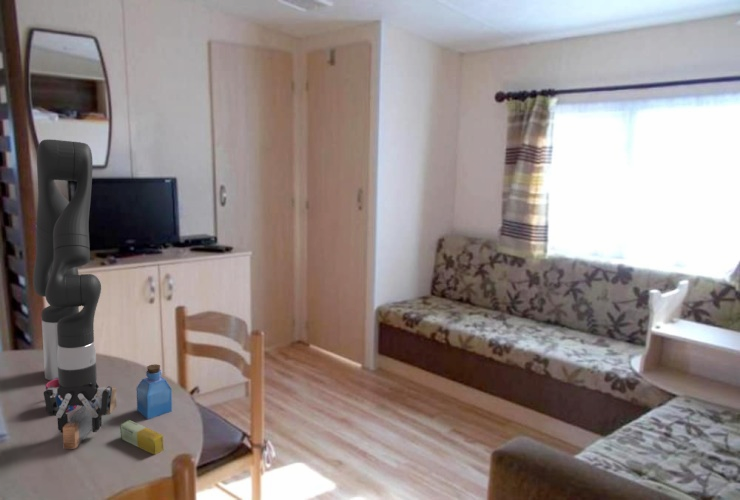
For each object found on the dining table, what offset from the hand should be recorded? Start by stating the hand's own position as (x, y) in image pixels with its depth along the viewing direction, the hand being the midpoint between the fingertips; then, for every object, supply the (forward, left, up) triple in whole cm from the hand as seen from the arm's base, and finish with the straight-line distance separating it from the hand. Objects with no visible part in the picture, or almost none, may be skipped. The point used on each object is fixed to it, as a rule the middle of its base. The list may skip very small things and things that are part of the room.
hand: (80, 430), depth 120 cm
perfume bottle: (-13, +13, -2) cm, 18 cm away
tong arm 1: (-3, -1, -1) cm, 3 cm away
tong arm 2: (-3, +1, -1) cm, 3 cm away
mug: (-16, -11, -2) cm, 20 cm away
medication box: (+3, +14, -2) cm, 15 cm away
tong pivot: (-13, 0, -2) cm, 13 cm away
